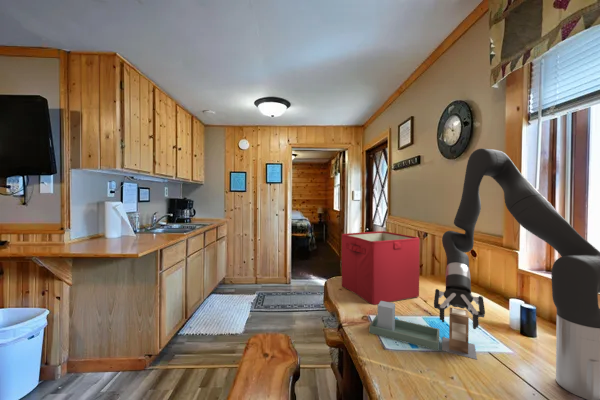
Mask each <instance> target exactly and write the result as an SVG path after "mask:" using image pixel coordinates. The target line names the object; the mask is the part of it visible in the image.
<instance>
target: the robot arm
mask: <svg viewBox="0 0 600 400" xmlns="http://www.w3.org/2000/svg"><path fill="white" fill-rule="evenodd" d="M485 176H487V177H490V178H491V179H493V180H494V181H495V182H496V183H497V184H498V185H499V186H500V188H502V191H503V197H504V198H503V199H504V204H505V207H506V209H507V211H509V213H510V214H511V215H512V217H513V218H514V219H515V221H516V222H517V223H518V224H519V225H520V226H521V227H522V228H524V229H525V230H526V231H527V232H529V233H530V234H532V235H534V236H535V237H537V238H539V239H541V240H542V241H543V242H545V243H547V244H548V245H550V247H552V248H553V249H554V250H555V251H556V252H557V253H558V254H559V255H560V256H561V257H558V258H556V259H555V261H554V262H553V264H552V267H551V276H550V277H551V292H552V293H551V295H552V301H553V303H554V306H555V308H556V332H555V333H556V336H555V338H556V339H555V341H556V343H555V344H556V345H555V349H556V350H555V381H556V382H557V384H558V385H559V386H560V387H561V388H563V389H564V390H566V391H567V392H568V393H571V394H573V395H576V396H577V397H580V398H582V399H585V400H600V307H599V296H598V295H599V294H600V251H599V250H598V249H597V248H596V247H595V246H594V245H592V243H590V242H589V241H588V240H587V239H585V238H584V237H583V236H582V235H581V234H580V233H579V232H578V231H577V230H576V229H575V228H574V227H573V225H571V224H570V223H569V222H568V221H567V220H566V219H565V218H564V217H563V216H562V215H561V213H559V212H558V210H556V208H555V207H554V206H553V205H552V203H551V202H550V201H549V200H547V198H546V197H545V196H544V195H542V193H541V192H539V191H538V190H537V188H535V186H533V184H531V182H530V181H529V179H527V178H526V177H525V176H524V174H522V173H521V172H520V170H519V169H518V168H517V166H516V165H515V164H514V162H513V160H511V158H510V157H509V155H507V154H506V153H505V152H504V151H502V150H498V149H491V148H483V147H482V148H478V149H475V150H474V151H472V152H471V154H470V156H469V157H468V159H467V165H466V169H465V175H464V180H463V181H464V182H463V187H462V193H461V199H460V202H459V204H458V205H459V206H458V209H457V211H456V214H455V217H454V219H453V225H454V226H455V227H457V228H459V229H460V230H463V231H464V233H462V232H458V231H453V230H447V231H445V232H444V233H443V235H442V237H441V242H442V246H443V247H442V248H443V249H444V253H445V255H446V269H445V290H444V291H442V290H441V291H440V289H438V288H436V289H435V291H434V297H433V298H434V299H433V308H434V309H437V310H439V320H440V321H441V323H445V310H447V309H449V308H450V306H452V308H458V309H462V310H465V309H466V310H467V311H468V313H469V314H471V316H472V329H473V330H476V329H477V328H479V323H480V322H479V319H480V318H485V315H486V309H485V301H484V297H483V296H481V295H480V296H478V297H476V296H473V295H472V284H471V283H472V282H471V272H470V258H469V255H467V253H469V252H471V250H473V248H474V242H475V241H474V240H475V237H474V235H475V227H476V224H477V222H478V219H479V218H480V217H479V216H480V213H481V210H482V204H481V196H480V195H481V194H480V186H481V183H482V180H483V179H484V177H485ZM443 296H444V298H445V299H444V301H443V302H442V303H439V301H440V298H442V297H443ZM473 302H475V304H476V305H478V310H477V309H476V308H475V307H474V305H473V304H472V303H473Z"/></svg>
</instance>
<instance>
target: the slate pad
mask: <svg viewBox="0 0 600 400" xmlns="http://www.w3.org/2000/svg"><path fill="white" fill-rule="evenodd" d="M441 348H442V349H441V351H443V352H447V353H450V354H453V355H457V356H462V357H465V358H470V359H472V360H476V361H477V360H478V356H477V351H476V344H474V343H470V342H468V354H467V353H463V352H459V351H455V350H451V349H449V337H445V336H442V343H441Z"/></svg>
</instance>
